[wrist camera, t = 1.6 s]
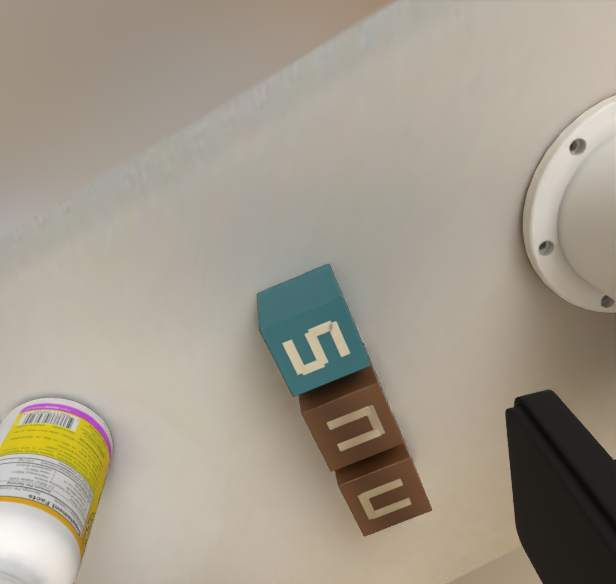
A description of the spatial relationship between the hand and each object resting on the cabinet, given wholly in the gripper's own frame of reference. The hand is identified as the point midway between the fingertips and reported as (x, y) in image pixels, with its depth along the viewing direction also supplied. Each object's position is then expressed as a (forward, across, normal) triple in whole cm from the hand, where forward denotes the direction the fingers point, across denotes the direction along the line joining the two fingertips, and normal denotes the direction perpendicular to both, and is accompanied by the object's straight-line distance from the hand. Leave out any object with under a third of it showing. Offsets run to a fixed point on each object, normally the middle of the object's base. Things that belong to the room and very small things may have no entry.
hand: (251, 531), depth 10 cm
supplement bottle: (+23, +15, +12) cm, 29 cm away
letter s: (+22, -2, +7) cm, 24 cm away
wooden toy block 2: (+23, -4, +18) cm, 29 cm away
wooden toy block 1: (+22, -3, +13) cm, 26 cm away
